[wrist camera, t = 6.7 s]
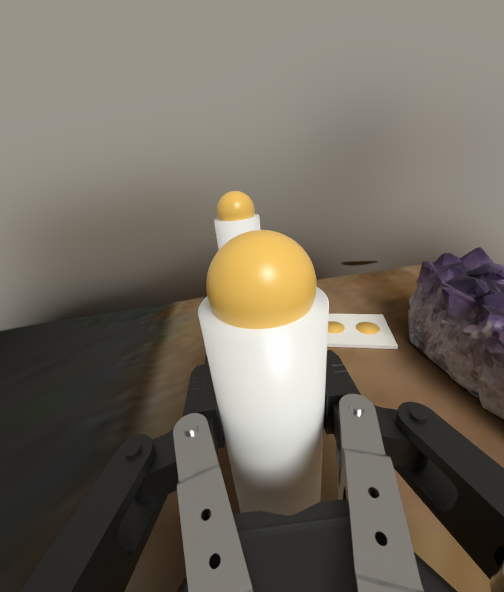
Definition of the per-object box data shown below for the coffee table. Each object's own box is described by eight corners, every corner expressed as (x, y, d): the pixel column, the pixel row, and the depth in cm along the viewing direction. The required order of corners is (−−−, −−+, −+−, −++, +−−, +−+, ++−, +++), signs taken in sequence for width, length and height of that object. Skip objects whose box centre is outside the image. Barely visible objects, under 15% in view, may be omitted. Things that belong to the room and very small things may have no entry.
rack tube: (223, 329, 30) (200, 195, 23) (241, 311, 33) (225, 189, 27) (258, 336, 28) (243, 192, 22) (273, 316, 31) (264, 187, 25)
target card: (313, 345, 27) (313, 342, 27) (312, 316, 33) (312, 313, 32) (397, 348, 26) (397, 345, 25) (382, 317, 31) (382, 313, 31)
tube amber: (223, 520, 13) (149, 249, 7) (258, 444, 17) (230, 217, 11) (307, 568, 12) (308, 259, 5) (328, 472, 15) (343, 216, 9)
